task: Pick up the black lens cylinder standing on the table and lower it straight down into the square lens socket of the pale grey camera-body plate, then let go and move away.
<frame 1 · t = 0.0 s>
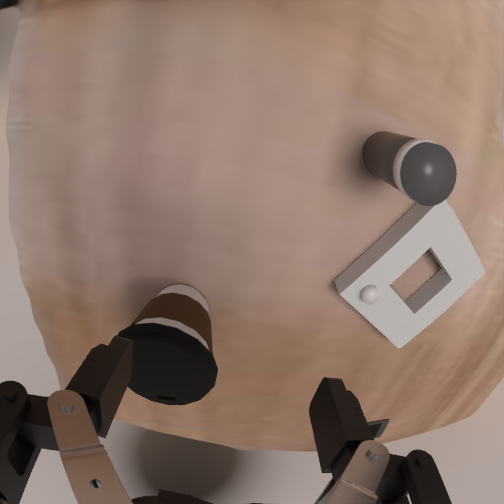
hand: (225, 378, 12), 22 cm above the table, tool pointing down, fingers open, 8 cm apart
coffee cup: (183, 303, 38), on the table
lens: (384, 154, 29), on the table
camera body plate: (412, 270, 35), on the table
cell phone: (353, 430, 52), on the table
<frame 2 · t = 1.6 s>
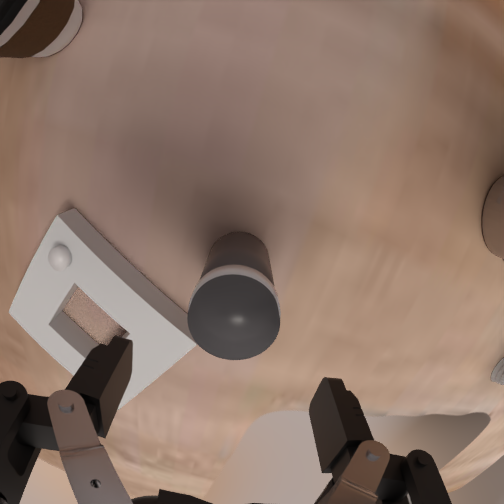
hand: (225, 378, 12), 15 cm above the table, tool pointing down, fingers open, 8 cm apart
coffee cup: (58, 29, 19), on the table
lens: (239, 261, 26), on the table
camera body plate: (98, 313, 27), on the table
chalice: (501, 367, 32), on the table
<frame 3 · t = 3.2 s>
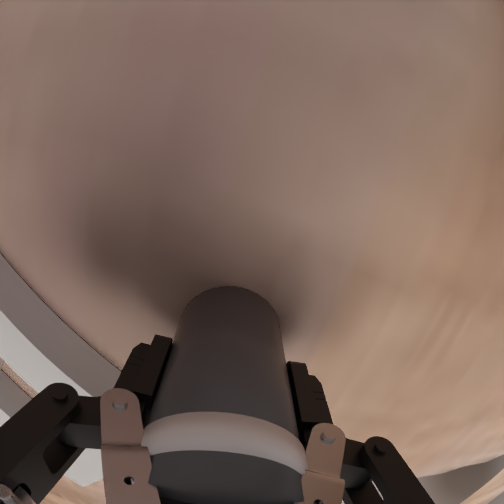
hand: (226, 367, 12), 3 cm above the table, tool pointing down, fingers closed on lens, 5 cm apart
lens: (229, 331, 15), on the table, touching gripper
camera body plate: (40, 381, 17), on the table
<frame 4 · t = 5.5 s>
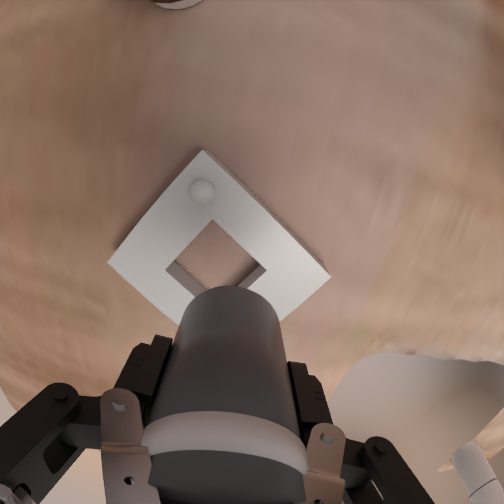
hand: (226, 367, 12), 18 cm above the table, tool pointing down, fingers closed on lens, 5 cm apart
lens: (230, 330, 15), point 15 cm above the table, touching gripper
cylindrical container: (463, 450, 45), on the table
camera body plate: (218, 259, 30), on the table
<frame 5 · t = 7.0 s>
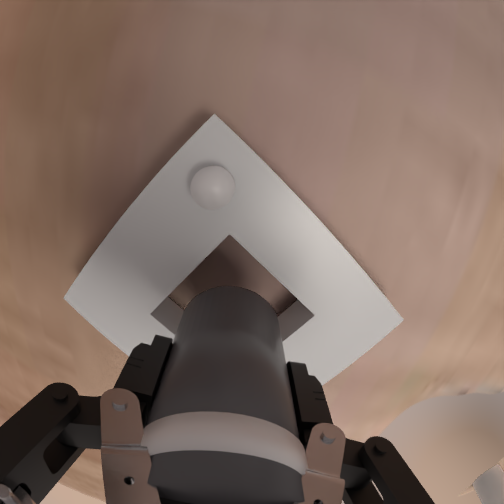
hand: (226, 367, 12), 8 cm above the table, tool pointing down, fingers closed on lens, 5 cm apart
lens: (229, 331, 15), point 5 cm above the table, touching gripper
cylindrical container: (485, 474, 35), on the table
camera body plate: (233, 293, 20), on the table
when the fingers open (4 cm above the table, at t = 8.1 s): lens drops 1 cm, resting in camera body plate.
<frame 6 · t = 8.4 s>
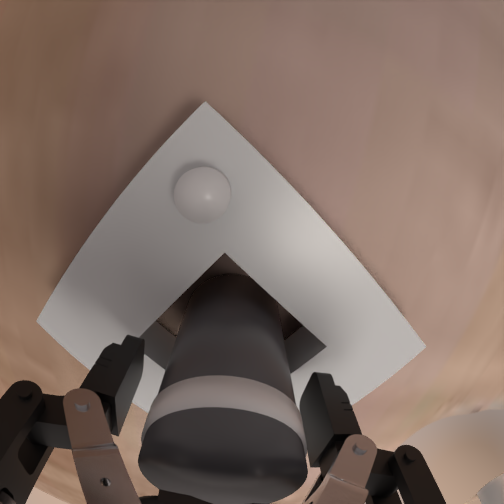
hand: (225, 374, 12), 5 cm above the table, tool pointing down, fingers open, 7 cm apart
lens: (232, 316, 17), resting in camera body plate
cylindrical container: (490, 483, 32), on the table
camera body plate: (230, 316, 17), on the table
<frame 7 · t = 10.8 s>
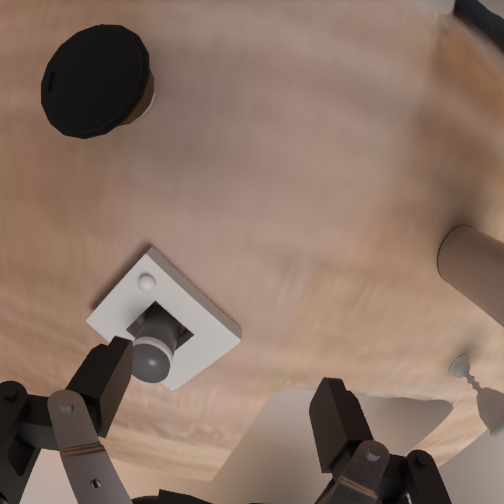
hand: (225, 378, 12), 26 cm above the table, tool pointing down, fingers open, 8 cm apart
coffee cup: (131, 96, 31), on the table
lens: (164, 320, 40), resting in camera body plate
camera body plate: (163, 320, 40), on the table
chalice: (458, 364, 47), on the table
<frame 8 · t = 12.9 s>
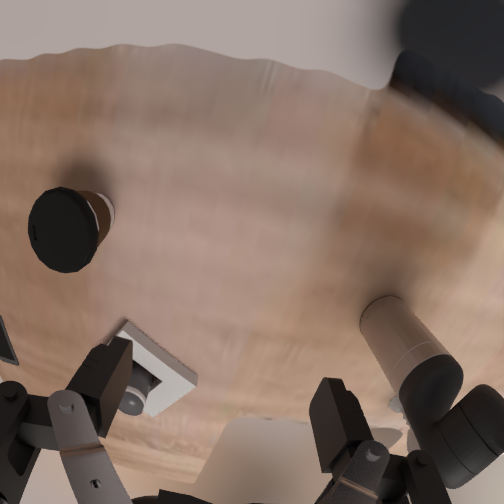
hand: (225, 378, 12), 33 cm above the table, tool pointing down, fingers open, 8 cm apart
coffee cup: (98, 213, 43), on the table
lens: (143, 368, 52), resting in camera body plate
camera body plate: (142, 369, 52), on the table
chalice: (398, 401, 57), on the table
cell phone: (2, 337, 51), on the table
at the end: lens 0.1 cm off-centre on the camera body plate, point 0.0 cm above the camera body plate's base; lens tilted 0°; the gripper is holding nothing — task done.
